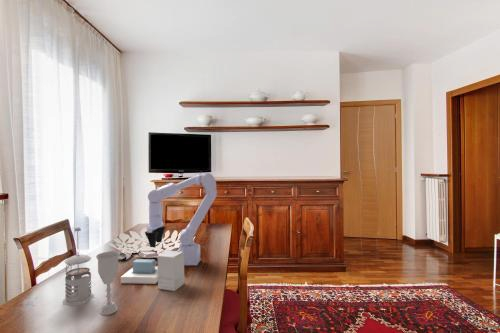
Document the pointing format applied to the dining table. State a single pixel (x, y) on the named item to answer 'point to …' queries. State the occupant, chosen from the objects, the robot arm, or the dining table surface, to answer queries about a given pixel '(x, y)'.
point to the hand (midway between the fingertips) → (155, 244)
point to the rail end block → (144, 266)
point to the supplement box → (170, 270)
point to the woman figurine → (123, 255)
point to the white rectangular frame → (140, 277)
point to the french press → (77, 280)
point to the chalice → (108, 277)
